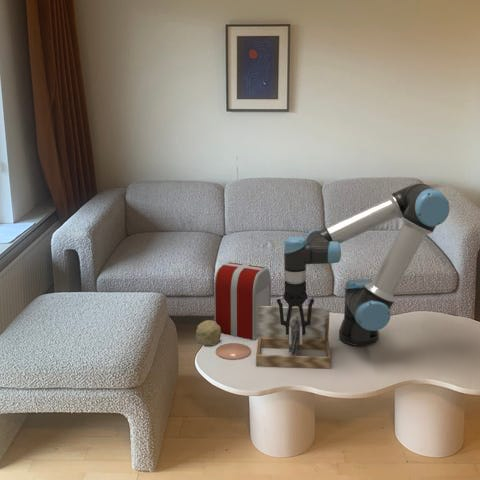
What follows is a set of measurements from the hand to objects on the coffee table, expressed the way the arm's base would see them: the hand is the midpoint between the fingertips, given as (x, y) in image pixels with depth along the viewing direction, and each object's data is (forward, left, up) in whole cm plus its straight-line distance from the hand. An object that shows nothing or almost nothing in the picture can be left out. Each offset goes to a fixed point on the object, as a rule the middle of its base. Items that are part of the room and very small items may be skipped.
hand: (295, 342), depth 237 cm
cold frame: (+1, 0, -6) cm, 6 cm away
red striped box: (+21, -23, -6) cm, 32 cm away
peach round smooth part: (+23, -3, -6) cm, 24 cm away
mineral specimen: (-2, +1, -5) cm, 6 cm away
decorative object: (+36, -11, -7) cm, 38 cm away
